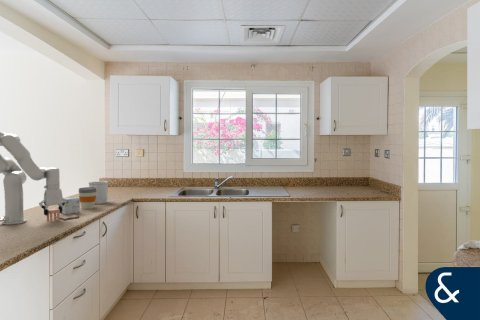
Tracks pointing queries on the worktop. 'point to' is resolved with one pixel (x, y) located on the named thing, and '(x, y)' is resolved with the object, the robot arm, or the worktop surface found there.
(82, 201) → the reusable coffee cup
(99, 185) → the utensil holder
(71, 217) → the walnut board
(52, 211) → the pink notched block
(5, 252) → the worktop surface
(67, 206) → the light bulb box
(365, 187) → the worktop surface
